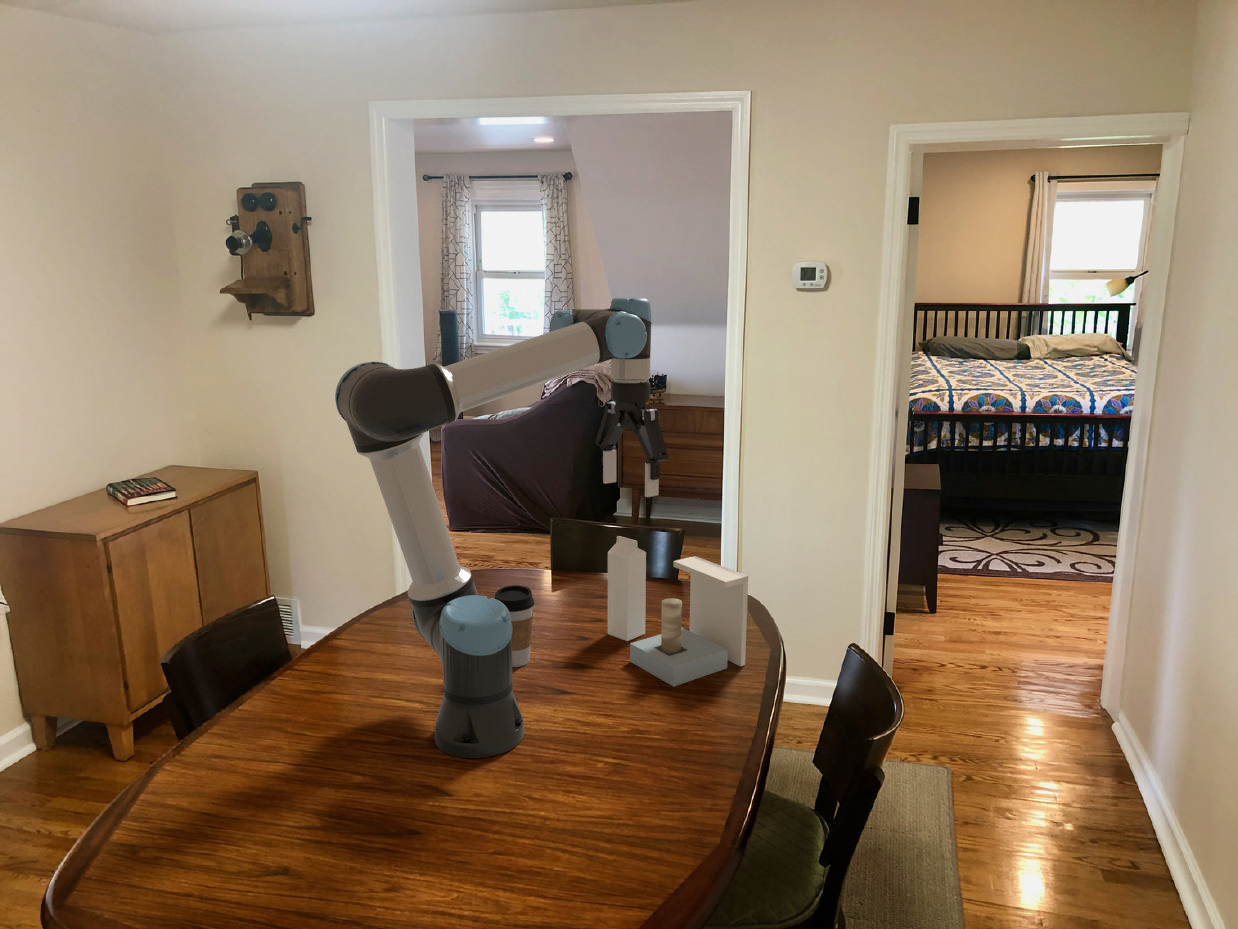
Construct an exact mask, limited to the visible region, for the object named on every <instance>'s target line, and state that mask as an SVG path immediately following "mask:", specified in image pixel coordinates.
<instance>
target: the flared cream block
mask: <svg viewBox="0 0 1238 929" xmlns="http://www.w3.org/2000/svg"><path fill="white" fill-rule="evenodd" d="M673 568H675V569H678V570H681V571H683V572H686V573H688V574H690V587H689V588H690V589H689V590H690V592H689V594H690V595H689V601H690V602H689V631H690V632H692V633H694V634H696V635H699V636H701V637H703V638H705V639H707V640H709V641H711V642H713V643H715V644H717V645H719V646H721V647H723V648H725V649H727V650H728V660H727V661H729V662H730V663H733V664H735V665H737V666H738V667H743V666H746V652H747V651H746V650H747V645H746V644H747V624H748V623H747V620H748V618H747V617H748V595H749V594H748V590H749V589H748V588H749V576H748V575H746V574H743V573H741V572H738V571H736V570H734V569H730V568H728V567H726V566H723V565H720V564H719V563H718V564H717V563H715V562H712V561H709V560H707V559H704V558H702V557H699V556H696V555H693V556H689V557H684V558H682V559H676V560H673Z"/></svg>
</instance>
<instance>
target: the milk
mask: <svg viewBox="0 0 1238 929" xmlns="http://www.w3.org/2000/svg"><path fill="white" fill-rule="evenodd" d="M646 558H647V552H646V551H644V550H643V549H640V548H639V547H638V541H637V540H635V539H631V538H628V537H624V536H620V535H617V536H616V543H614V545H613V546H612V547H611V548H610V549H609V550H608V552H607V635H609V636H611V637H614V638H618V639H620V640H623V641H626V642H629V641H631V640H634V639H636V638H638V637H641V636H643V635H645V634H646V598H647V596H646V586H647V582H646V581H647V580H646V579H647V574H646V573H647V559H646Z"/></svg>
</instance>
